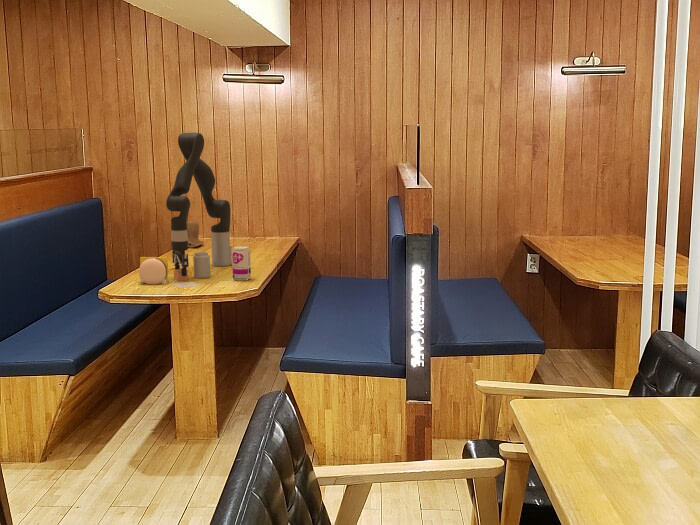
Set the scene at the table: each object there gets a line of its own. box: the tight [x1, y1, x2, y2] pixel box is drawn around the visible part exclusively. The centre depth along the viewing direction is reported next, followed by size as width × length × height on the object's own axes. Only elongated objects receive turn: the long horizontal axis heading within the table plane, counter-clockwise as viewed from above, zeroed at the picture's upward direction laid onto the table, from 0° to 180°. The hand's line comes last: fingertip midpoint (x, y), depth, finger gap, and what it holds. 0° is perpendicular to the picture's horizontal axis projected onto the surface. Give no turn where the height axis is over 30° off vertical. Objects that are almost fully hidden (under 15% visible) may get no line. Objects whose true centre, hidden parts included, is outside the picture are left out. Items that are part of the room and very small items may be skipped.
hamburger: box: [138, 256, 169, 285], centre depth 351 cm, size 12×8×12 cm
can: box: [192, 251, 211, 279], centre depth 365 cm, size 8×8×12 cm
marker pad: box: [171, 281, 201, 289], centre depth 348 cm, size 10×10×1 cm
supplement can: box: [232, 245, 252, 281], centre depth 361 cm, size 8×8×15 cm
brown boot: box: [187, 220, 205, 249], centre depth 459 cm, size 15×12×15 cm
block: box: [173, 268, 189, 282], centre depth 360 cm, size 5×5×5 cm
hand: (180, 274), depth 360 cm, fingers open, 8 cm apart
